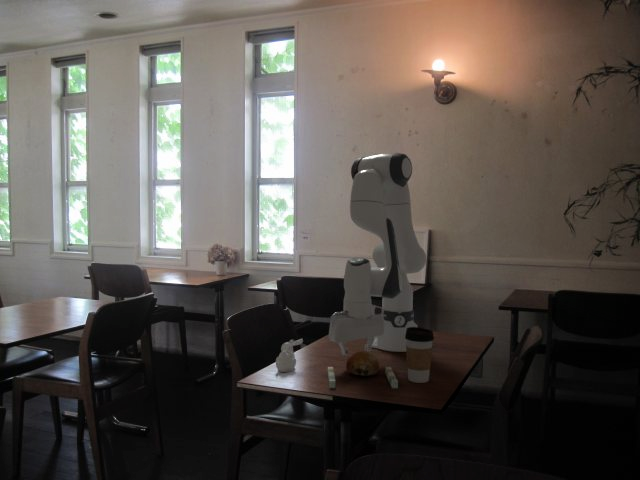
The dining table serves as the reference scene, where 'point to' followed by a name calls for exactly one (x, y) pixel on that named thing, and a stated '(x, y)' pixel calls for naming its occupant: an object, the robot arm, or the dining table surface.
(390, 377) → the channel
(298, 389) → the dining table surface
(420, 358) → the coffee cup
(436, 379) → the dining table surface
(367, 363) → the bread roll
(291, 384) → the dining table surface
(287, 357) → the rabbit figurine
